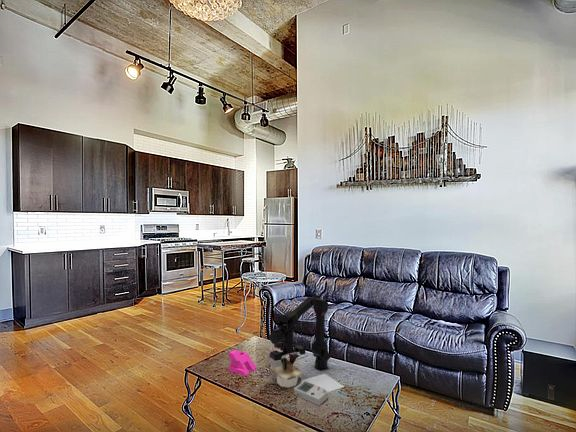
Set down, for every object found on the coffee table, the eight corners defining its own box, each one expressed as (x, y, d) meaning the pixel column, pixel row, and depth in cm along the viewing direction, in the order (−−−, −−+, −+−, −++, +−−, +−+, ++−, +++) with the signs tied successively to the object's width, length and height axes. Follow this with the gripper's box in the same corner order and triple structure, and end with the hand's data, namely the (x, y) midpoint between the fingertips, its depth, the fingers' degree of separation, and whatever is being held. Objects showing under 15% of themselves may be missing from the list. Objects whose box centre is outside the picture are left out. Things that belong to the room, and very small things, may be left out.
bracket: (228, 371, 181) (228, 352, 181) (240, 364, 190) (240, 346, 190) (245, 376, 175) (246, 357, 175) (256, 369, 184) (257, 351, 184)
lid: (291, 365, 177) (291, 356, 177) (303, 374, 167) (303, 364, 167) (272, 369, 171) (272, 360, 171) (283, 379, 161) (283, 370, 161)
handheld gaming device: (318, 407, 148) (318, 399, 148) (293, 395, 157) (293, 387, 157) (329, 397, 155) (329, 390, 155) (304, 387, 164) (304, 379, 164)
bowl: (290, 376, 176) (290, 368, 176) (300, 385, 167) (300, 376, 167) (274, 381, 170) (274, 372, 171) (283, 390, 162) (284, 381, 162)
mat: (324, 374, 179) (324, 373, 179) (344, 387, 165) (344, 386, 165) (300, 381, 171) (300, 380, 171) (318, 396, 157) (318, 394, 157)
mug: (277, 375, 178) (277, 353, 178) (262, 368, 186) (263, 347, 186) (287, 370, 183) (287, 349, 183) (272, 363, 191) (272, 343, 191)
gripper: (294, 331, 181) (294, 359, 181) (265, 337, 171) (264, 367, 171) (306, 337, 171) (305, 367, 171) (275, 344, 162) (274, 375, 161)
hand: (287, 369), depth 169 cm, fingers closed on lid, 3 cm apart
